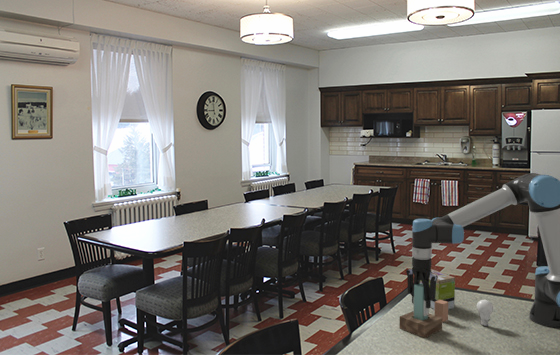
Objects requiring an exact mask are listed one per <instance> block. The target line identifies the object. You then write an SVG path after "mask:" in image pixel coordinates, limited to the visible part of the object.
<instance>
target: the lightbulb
mask: <svg viewBox="0 0 560 355" xmlns="http://www.w3.org/2000/svg"><path fill="white" fill-rule="evenodd" d="M476 310H477V312H478V314H479V316H480V325H482V326H483V327H487V326H489V320H490V319H489V318H490V316H491V315H492V314H493V311H494V304H493V303H492V302H491V301H490V300H489V299H485V298H484V299H480V300H478V302H477V303H476Z"/></svg>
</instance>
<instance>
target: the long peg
mask: <svg viewBox="0 0 560 355" xmlns="http://www.w3.org/2000/svg"><path fill="white" fill-rule="evenodd" d="M424 299H425V294H424V287H423V284H422V283H420V284H417V285H414V318H416V319H418V320H421V321H424V320H426V319H428V315H427V316H423V304H424Z"/></svg>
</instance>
